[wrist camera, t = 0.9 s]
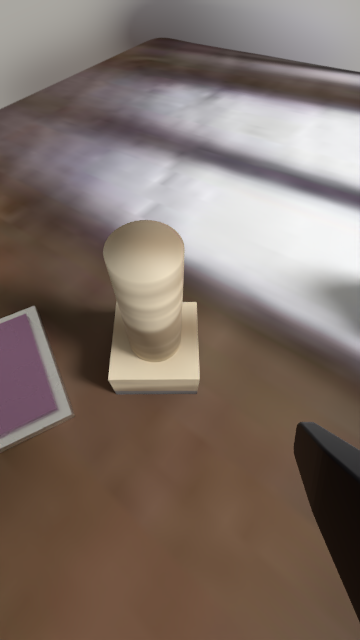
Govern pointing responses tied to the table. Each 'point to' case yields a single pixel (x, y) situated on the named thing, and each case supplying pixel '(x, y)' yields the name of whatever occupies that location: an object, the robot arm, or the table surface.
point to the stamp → (151, 312)
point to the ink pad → (28, 380)
